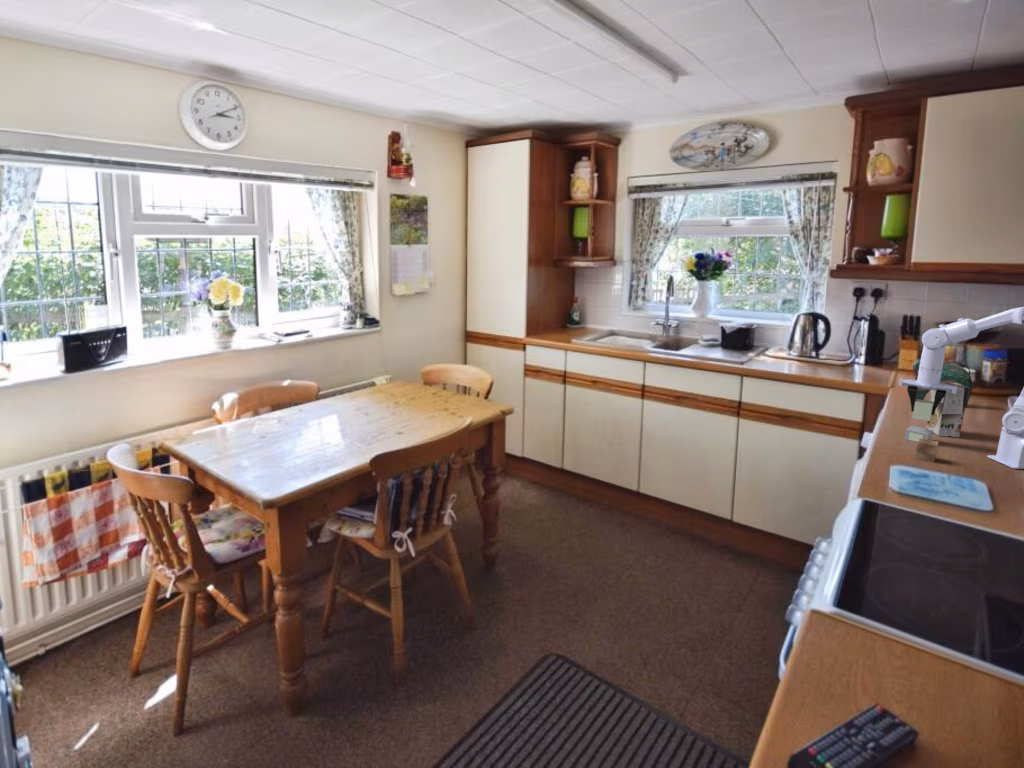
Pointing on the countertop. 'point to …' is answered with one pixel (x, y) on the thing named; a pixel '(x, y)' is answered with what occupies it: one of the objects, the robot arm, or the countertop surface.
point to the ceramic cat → (947, 377)
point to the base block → (918, 434)
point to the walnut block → (926, 450)
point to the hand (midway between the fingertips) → (922, 412)
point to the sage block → (922, 409)
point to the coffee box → (949, 411)
